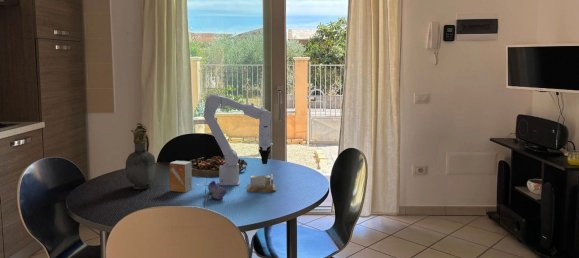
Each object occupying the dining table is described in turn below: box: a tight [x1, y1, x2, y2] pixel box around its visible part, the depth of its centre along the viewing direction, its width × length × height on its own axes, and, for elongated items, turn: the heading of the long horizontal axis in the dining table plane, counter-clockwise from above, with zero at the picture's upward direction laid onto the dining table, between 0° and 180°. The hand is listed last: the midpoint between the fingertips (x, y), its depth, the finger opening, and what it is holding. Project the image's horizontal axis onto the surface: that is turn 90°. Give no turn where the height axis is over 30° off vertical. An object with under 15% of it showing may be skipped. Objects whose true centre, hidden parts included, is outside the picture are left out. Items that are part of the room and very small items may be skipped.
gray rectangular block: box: [249, 175, 271, 188], centre depth 225 cm, size 9×4×5 cm, turn 93°
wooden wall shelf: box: [246, 173, 276, 193], centre depth 225 cm, size 13×11×6 cm
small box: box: [168, 160, 193, 194], centre depth 221 cm, size 8×6×13 cm
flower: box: [205, 179, 228, 203], centre depth 207 cm, size 9×8×10 cm
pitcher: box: [125, 122, 157, 190], centre depth 226 cm, size 11×19×30 cm, turn 178°
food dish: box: [190, 155, 248, 178], centre depth 263 cm, size 35×33×8 cm
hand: (264, 162), depth 236 cm, fingers open, 7 cm apart
